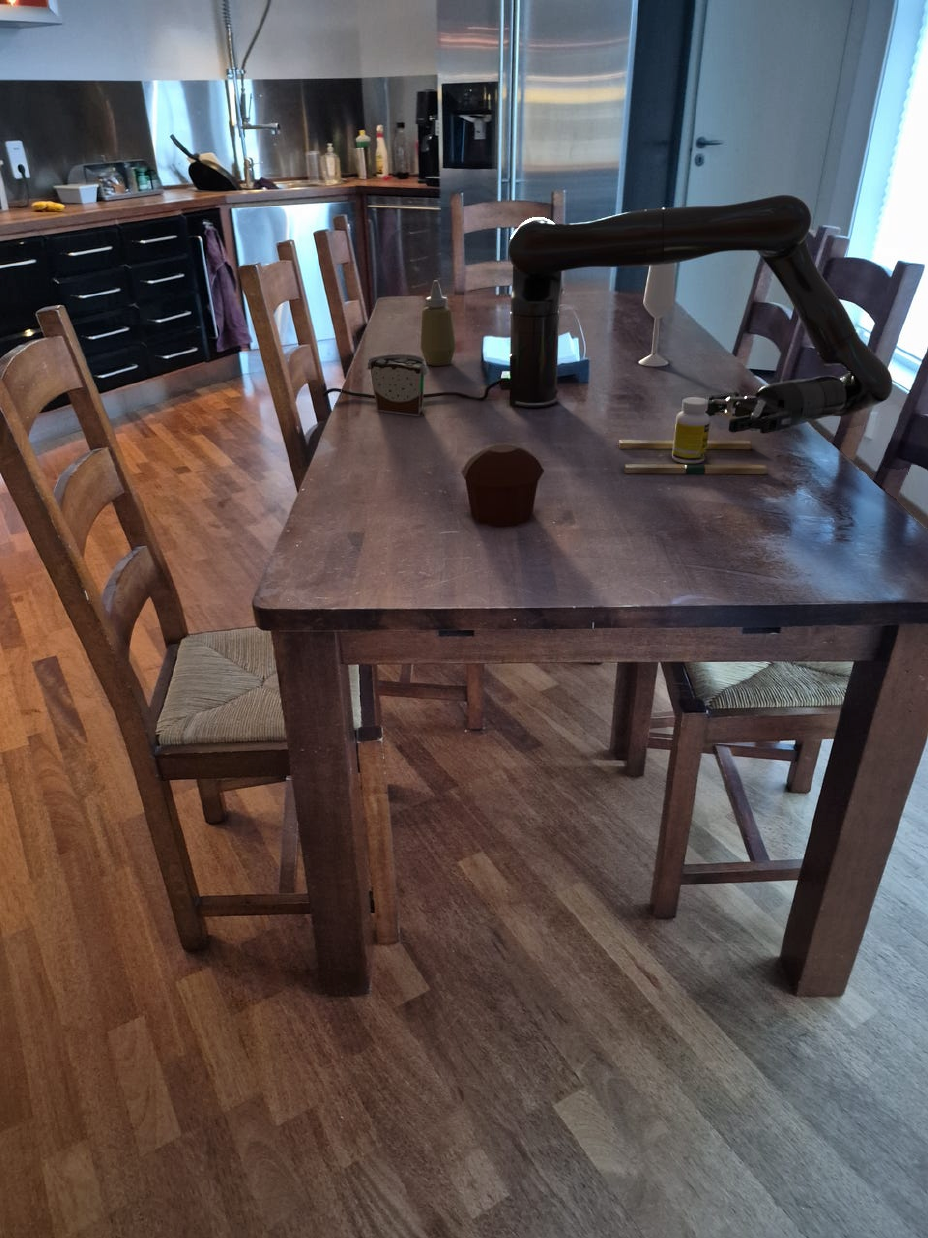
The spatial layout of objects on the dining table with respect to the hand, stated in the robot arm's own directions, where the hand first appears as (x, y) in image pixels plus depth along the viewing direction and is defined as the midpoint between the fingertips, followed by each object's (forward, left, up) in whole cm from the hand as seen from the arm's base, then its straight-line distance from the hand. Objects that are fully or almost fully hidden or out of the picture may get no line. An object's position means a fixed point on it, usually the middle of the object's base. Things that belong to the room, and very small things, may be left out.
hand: (713, 418), depth 141 cm
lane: (-3, -2, -6) cm, 7 cm away
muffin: (-33, -25, -6) cm, 42 cm away
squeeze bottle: (-51, +60, -6) cm, 79 cm away
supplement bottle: (-4, -2, -6) cm, 8 cm away
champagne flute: (-2, +60, -6) cm, 61 cm away
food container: (-54, +25, -6) cm, 60 cm away
